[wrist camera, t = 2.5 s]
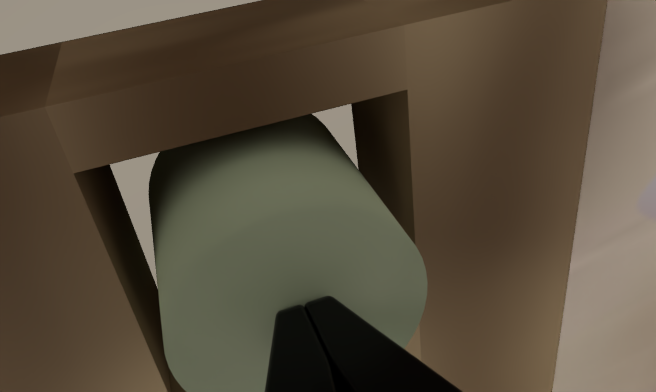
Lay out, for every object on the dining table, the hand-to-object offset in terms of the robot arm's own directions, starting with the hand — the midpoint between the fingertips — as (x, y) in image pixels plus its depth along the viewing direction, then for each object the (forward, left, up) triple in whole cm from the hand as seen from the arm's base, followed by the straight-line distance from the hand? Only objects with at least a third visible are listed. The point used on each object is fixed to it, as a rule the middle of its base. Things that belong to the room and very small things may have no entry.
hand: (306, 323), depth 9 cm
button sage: (0, 0, -4) cm, 4 cm away
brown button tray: (0, +7, -4) cm, 8 cm away
